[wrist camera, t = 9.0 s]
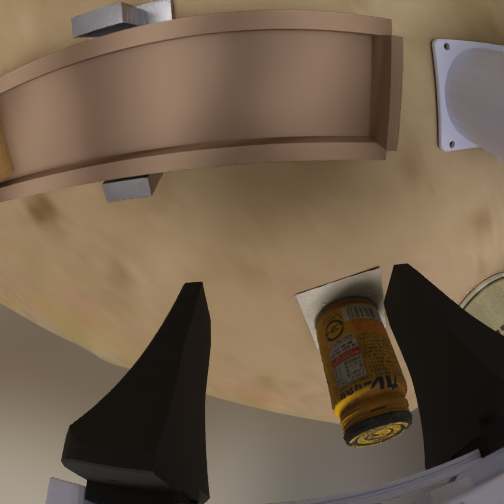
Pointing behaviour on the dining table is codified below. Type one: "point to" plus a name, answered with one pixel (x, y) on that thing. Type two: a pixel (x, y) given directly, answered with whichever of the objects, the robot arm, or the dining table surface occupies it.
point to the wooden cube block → (4, 157)
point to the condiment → (358, 358)
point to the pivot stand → (111, 22)
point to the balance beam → (204, 98)
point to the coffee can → (488, 302)
